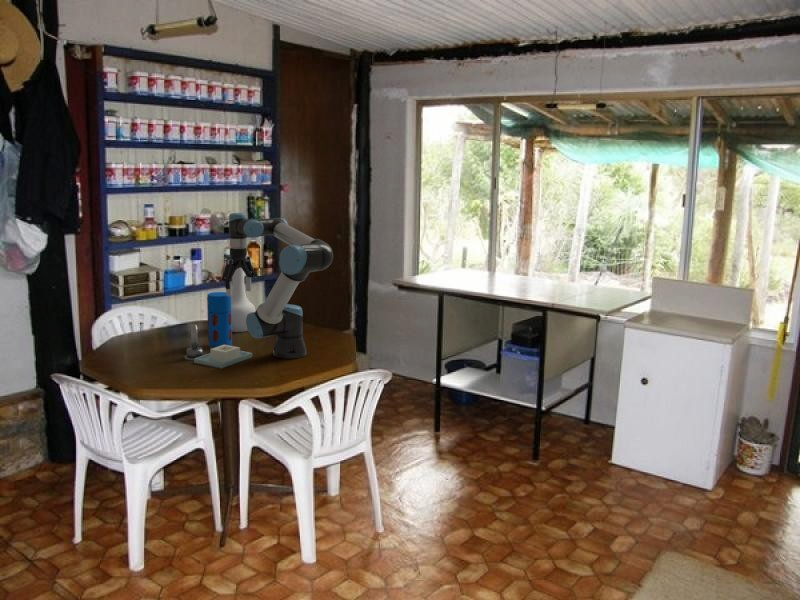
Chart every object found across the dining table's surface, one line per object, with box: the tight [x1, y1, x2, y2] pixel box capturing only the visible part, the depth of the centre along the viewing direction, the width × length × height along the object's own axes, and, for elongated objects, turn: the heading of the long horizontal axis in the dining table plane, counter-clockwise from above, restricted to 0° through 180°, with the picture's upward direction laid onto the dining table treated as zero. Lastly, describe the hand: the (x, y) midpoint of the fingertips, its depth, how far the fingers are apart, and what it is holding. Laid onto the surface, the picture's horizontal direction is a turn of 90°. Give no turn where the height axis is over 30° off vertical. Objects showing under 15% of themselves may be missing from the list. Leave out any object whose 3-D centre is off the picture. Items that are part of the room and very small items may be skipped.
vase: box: [231, 266, 256, 333], centre depth 364 cm, size 17×17×35 cm
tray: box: [193, 350, 253, 369], centre depth 314 cm, size 15×20×2 cm
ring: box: [209, 345, 241, 363], centre depth 314 cm, size 11×9×5 cm
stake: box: [184, 323, 205, 362], centre depth 315 cm, size 9×9×15 cm
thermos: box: [206, 291, 233, 349], centre depth 334 cm, size 11×11×25 cm
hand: (239, 293), depth 326 cm, fingers open, 13 cm apart
